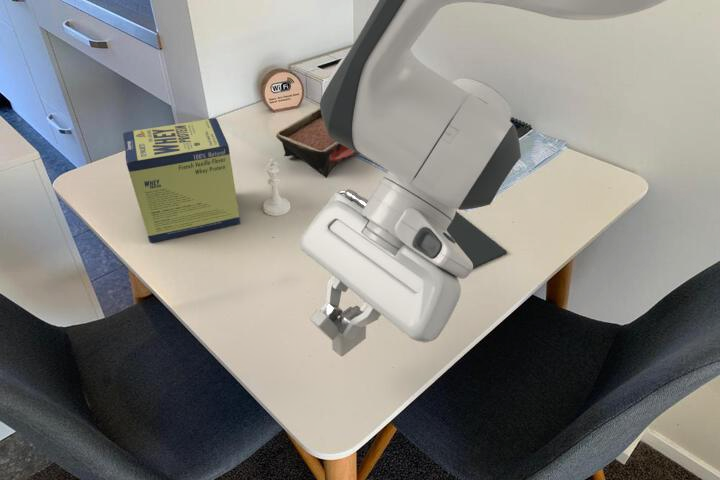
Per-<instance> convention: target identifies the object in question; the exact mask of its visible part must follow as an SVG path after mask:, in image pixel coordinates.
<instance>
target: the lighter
mask: <svg viewBox="0 0 720 480" xmlns="http://www.w3.org/2000/svg"><path fill="white" fill-rule="evenodd" d="M360 308H361V306H359V305H355V306H348V308H346V309H344V310H343V311H342V313H341V314H340V316H338V319H337V320H335V321H334V322H332V321H331V320H330V319H329V318H328V317H327V316H326V315H325V314H323V313H322V312H321V311H320V310H319V309H316V311H314V313H313V314H312V315H311V317H309V320H310V321H311V322H312V323H313V324H314V325H315V326H316V327H317V328H318V330H320V332H322V334H323V335H325V336H326V337H327V338H329V339H330V340H331V343H332V345H331V346H332V351H333V352H335V353H336V354H337V355H339V356H340V357H344V356H346V355H347V354H348V353H349V352H350V351H352V350H353V349H354V348H356V347H357V346H359V344H361V343H362V342H363V341H365V340H366V338H367V325H366V326H364V327H361V329H360V330H359V332H358V334H357V335H356V337H355V338H354V339H352V340H350V339H346V338H345V337H344V336H343V335H342V334H340V333H339V332H338V327H339V326H340V325H341V322H342V320H343V319H344V317H345V318H349V319H354V318H355V317H357V316H359V315H360V314H362V313H363V312H362V311H361V310H360Z"/></svg>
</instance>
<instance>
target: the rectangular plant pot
mask: <svg viewBox="0 0 720 480" xmlns="http://www.w3.org/2000/svg"><path fill="white" fill-rule="evenodd" d="M275 137H276V138H277V140H279V142H280V143H281V144H282V147H283V150H284V155H283V157H294V156H295V157H296V156H297V157H298V158H300V159H301V160H302V161H303V162H305V163H306V164H307V165H308V166H309V167H311V169H313V170H314V171H316V172H317V173H319V174H320V175H322V176H323V177H325V178H326V179H327V178H328V176H329V174H330V173H331V171H332V170H333V169H334V168H335V166H336V165H338V163H340V161H341V160H342V159H343V160H344V159H349V158H351V157H352V156H354V155H356V154H357V155H359V154H358V153H357V152H355V151H353V150H351V149H349V148H347V147H345V146H343V145H341V144H339V143H337V142H336V141H334V140H332V139H330V137H329V135H328V132H327V130H326V127H325V124H324V121H323V118H322V114H321V109H320V107H319V108H316V109H315V110H313V111H311V112H310V113H308V114H307V115H305V116H303V117H301V118H300V119H298V120H296V121H294V122H292V123H291V124H289V125H288V126H286V127H284V128H282V129H281V130H279V131H278V132H276V135H275Z"/></svg>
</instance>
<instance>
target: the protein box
mask: <svg viewBox="0 0 720 480" xmlns="http://www.w3.org/2000/svg"><path fill="white" fill-rule="evenodd" d="M122 138H123V144H124V153H125V163H126V168H127V170H128V174H129V177H130V180H131V184H132V187H133V191H134V195H135V197H136V201H137V205H138V208H139V211H140V215H141V219H142V221H143V226H144V228H145V231H146V235H147V238H148V239H147V240H148V242H149V243H150V244H152V243H156V242H161V241H167V240H171V239H175V238H181V237H185V236H190V235H194V234H199V233H204V232H207V231H213V230H217V229H222V228H227V227H232V226H236V225H240V224H241V216H240V210H239V203H238V198H237V192H236V186H235V185H236V184H235V180H234V179H235V178H234V172H233V167H232V160H231V154H230V145H229V144H228V141H227V139H226V136H225V135H224V132H223V129H222V128H221V125H220V123H219V121H218V119H217V117H212V118H205V119H201V120H194V121H188V122H182V123H175V124H170V125H163V126H157V127H151V128H143V129H137V130H130V131H126V132H123V133H122Z"/></svg>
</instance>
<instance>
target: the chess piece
mask: <svg viewBox="0 0 720 480" xmlns="http://www.w3.org/2000/svg"><path fill="white" fill-rule="evenodd" d="M269 161H270V162H266V167H268V168H267V169H266V173H267V174H268V176H269V179H268V181H267V184H268V185H270V186H271V197H270V198H267V199H266V200H265V201H264V202H263V205H262V206H263V207H262V211H263V212H264V213H265V214H266V215H268V216H275V217H276V216H283V215H286V214H287V213H288V212H289V211H290V210H291V203H290V201H289V199H287V198H285V197H282V196H281V195H280V191H279V187H278V185H280V184H281V180H280V179H279V178H278V174H279V171H280V169H279V168H278V167H277V166H278V162H277V161H274V159H273V158H270V160H269Z"/></svg>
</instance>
